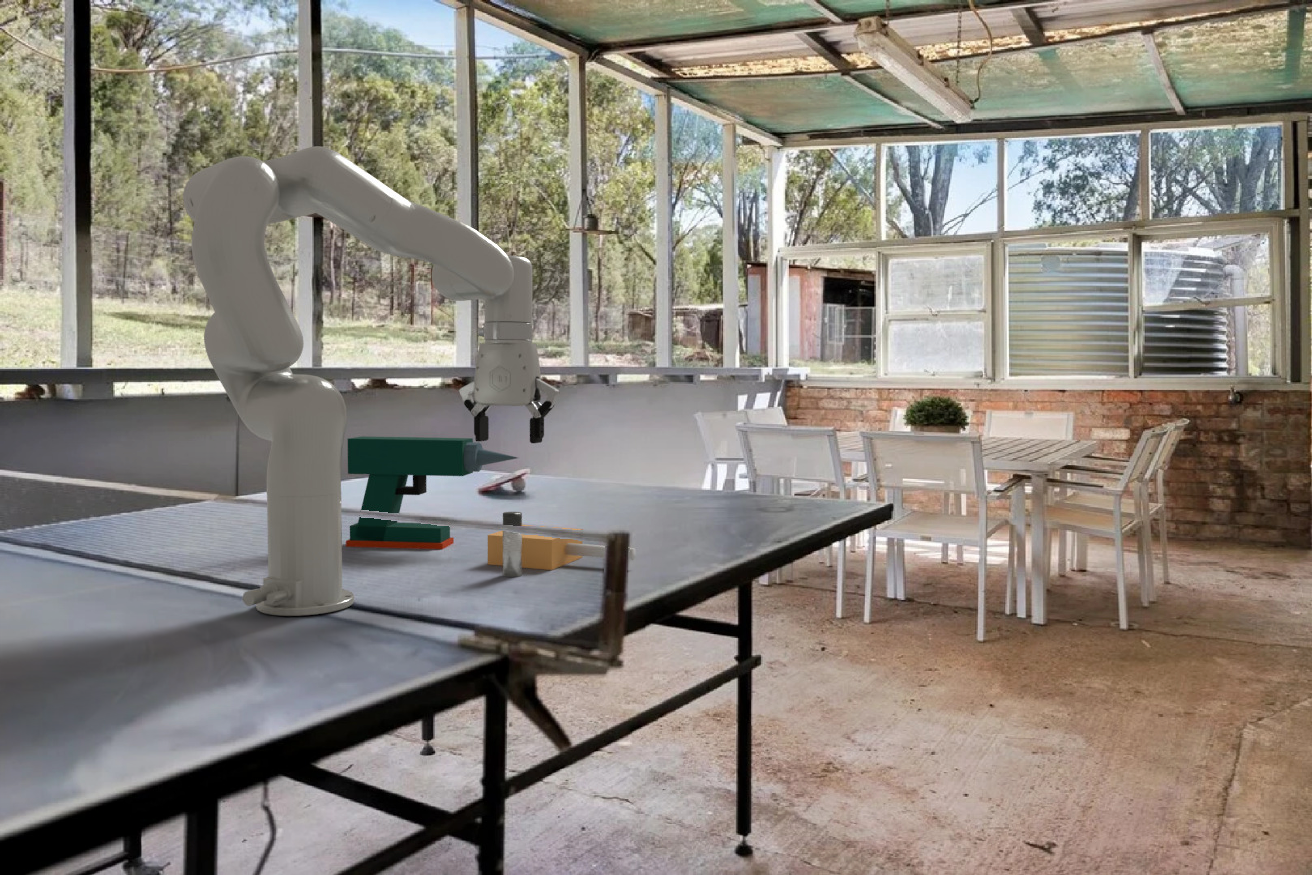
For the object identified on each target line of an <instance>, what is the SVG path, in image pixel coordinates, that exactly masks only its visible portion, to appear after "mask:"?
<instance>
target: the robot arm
mask: <svg viewBox="0 0 1312 875" xmlns="http://www.w3.org/2000/svg"><path fill="white" fill-rule="evenodd" d="M182 202H183V206H184V209H185V211H186V214H187V215H188V217H190V219H191V220H192V221H193V222H194V223H193V227H192V235H191V253H192V259H193V264H194V267H195V271H196V273H197V276H198V278H199V280H200V283H201V286H202V287H203V290H204V291H205V293H206V296H207V297H208V300H209V303H210V305H211V307H212V309H213V312H214V313H213V314H212V315H210V317H209V319H208V321H207V322H206V325H205V327H204V332H203V341H204V342H203V344H204V348H205V353H206V355H207V358H208V360H209V362H210V364H211V367H212V368H213V370H214V372H215V374H216V376H217V377H218V380H219V381H220V383H221V385H222V387H223V389H224V390H225V392H226V395H227V396H228V398H229V400H230V402H231V403H232V406H233V407H234V409H235V411H236V413H237V415H238V416H239V418H240V420H241V421H242V422H243V424H244V425H245V427H246V428H247V429H248V430H249V431H250V432H251V433H252V434H254V435H256V436H257V437H258V438H259V439H263V440H267V441H269V442H271V444H270V451H269V454H268V460H267V467H266V514H267V515H266V516H267V519H266V520H267V524H266V525H267V526H266V527H267V569H268V570H267V574H268V576H267V577H262V579H263V580H262V583H263V584H262V585H261V586H260V588H254V589H250V590H247V591H244V593H243V595H242V602H243V603H244V604H245V606H247V607H250V606H255V608H256V611H259V612H260V613H261V614H265V615H272V616H284V617H294V616H295V617H298V616H299V617H300V616H301V617H302V616H311V615H313V616H315V615H319V614H321V615H322V614H327V613H333V612H338V611H342V610H345V609H346V608H348V607H350V606H352V605H353V604H354V602H355V594H354V593H353V592H352V591H350V590H348V589H343V540H342V537H343V536H342V535H343V532H342V530H343V529H342V525H343V524H342V523H343V522H342V518H343V517H342V471H341V470H342V457H343V456H342V455H343V445H344V440H345V434H346V427H347V421H348V420H347V419H348V418H347V406H346V403H345V400H344V397H343V394H341V392H340V391H339V389H338V388H337V387H336V386H335V385H334V384H333V383H331V382H330V381H329V380H327V379H324V378H323V377H320V376H316V375H312V374H295V373H293V372H292V369H291V367H292V366H293V365H294V364H296V363H297V361H298V360H299V359H300V357H301V355H302V354H303V349H304V336H303V332H302V329H301V327H300V325H299V323H298V321H297V318H296V316H295V315H294V313H293V311H292V308H291V307H290V305H289V302H288V301H287V299H286V296H285V294H284V293H283V291H282V289H281V287H280V284H279V283H278V281H277V279H276V277H275V274H274V272H273V270H272V267H271V265H270V262H269V259H268V256H267V253H266V246H265V245H266V244H265V240H266V239H265V238H266V231H267V227H268V225H270V224H277V223H280V222H284V221H288V220H289V221H290V220H293V219H297V218H302V217H305V216H309V215H313V214H314V215H315V214H317V215H319V216H321V217H322V218H324V219H325V220H328V221H329V222H330V223H332V224H334V225H336V227H339V228H340V229H342V230H343V231H345V232H347V233H348V234H350V235H351V236H353V237H354V238H356V239H357V240H359V241H361V242H362V243H364V244H366V246H367V245H368V247H370V248H372V249H373V250H376V251H378V252H380V253H383V254H387V255H390V256H393V257H394V256H395V257H398V258H399V257H401V258H407V259H413V260H418V261H422V262H426V263H429V264H432V265H434V266H433V267H432V272H431V281H432V283H433V286H434V288H435V289H436V291H437V292H438V293H439V294H440V295H442V296H443V297H445V298H447V299H449V300H452V301H457V302H458V301H459V302H461V301H462V302H464V301H465V302H466V301H475V300H476V301H477V300H483V301H484V323H483V327H479V328H478V330H477V335H478V336H479V337H483V340H484V342H481V343H479V346H478V349H477V356H476V361H475V369H474V371H475V372H474V380H473V381H471V382H470V383H468V384H466V385H464V386H463V387H461V388H460V389H459V395H460V397H461V399H462V401H463V404H464V406H465V408H466V409H467V410H468V412H470V415H471V416H472V417H473V434H474V436H475V442H484V441H485V442H486V441H488V440H489V439H490V438H489V429H490V428H489V415H487V413H488V411H489V410H490V409H491V407H492V406H497V407H498V406H502V407H503V406H505V407H523V406H525V407H526V409H527V410H528V411H529V412H530V414H531V415H532V417H530V419H529V443H531V444H539V443H542V442H543V439H544V437H545V418H547V416H548V414H549V412H551V411H552V410H553V408H554V407H555V405H556V404H555V403H556V402H557V401H558V398H559V396H560V390H559V389H558V388H556V387H554V386H553V385H550V384H549V383H547V382H546V381H543V380H542V375H541V366H540V358H539V353H538V348H537V344H536V343H533V265H532V262H531V261H530V260H529V259H528V258H526V257H524V256H518V255H509V254H508V255H507V253H506V252H505V251H504V250H503V249H502V248H501V247H499V245H497V244H496V243H495V242H494V241H492V240H491V239H489V238H488V237H487V236H484V235H483V234H482V233H481V232H479V231H478V230H476V229H474V228H473V227H471V226H470V225H467V224H465V223H463V222H461V221H460V220H457V219H455V218H453V217H450V216H449V215H445V214H442V213H440V212H438V211H435V210H433V209H431V208H429V207H426V206H423V205H420V204H418V203H415V202H413V201H411V200H409V199H407V198H405V197H404V196H402V195H401V194H399V193H398V192H396V191H395V190H393V189H392V188H391V187H389V186H387V185H386V184H384V183H383V182H381V181H380V180H379V179H377V178H376V177H374V176H373V175H371V174H370V173H368V172H367V171H366V170H364V169H362V168H361V167H360V166H358V165H357V164H356V163H354V162H352V161H351V160H350V159H348V158H347V157H346V156H344V155H342V154H341V153H339V152H338V151H336V150H334V149H332V148H329V147H326V146H321V145H319V146H316V145H315V146H310V147H306V148H303V149H300V150H297V151H294V152H292V153H289V154H286V155H283V156H281V157H277V158H276V157H275V158H271V159H267V160H261V159H259V158H256V157H254V156H246V155H245V156H244V155H241V156H234V157H230V158H227V159H225V160H222V161H220V162H217V163H215V164H213V165H210V166H207V167H204V168H203V169H201V170H199V171H197V172H195V173H194V174H193V175H192V176H190V178H189V179H188V181H187V182H186V183H185V186H184V187H183V192H182ZM542 392H543V393H545V394H546V398H545V399H546V400H545V401H544V402H543V403H541V400H542Z"/></svg>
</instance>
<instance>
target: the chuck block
mask: <svg viewBox="0 0 1312 875" xmlns="http://www.w3.org/2000/svg"><path fill="white" fill-rule="evenodd" d="M522 526H532V525H530V524H529V525H527V524H522ZM539 526H540V527H546V526H543V525H539ZM552 527H553V528H560V526H559V527H557V526H556V527H555V526H552ZM561 528H562V529H572V530H583V528H571V527H561ZM605 546H606V545H597V544H585V543H583V541H578V540H573V539H560V538H552V537H544V536H538V535H523V534H522V569H523V568H525V569H536V570H545V571H547V570H549V571H553V570H555V569H557V568H558V569H559V568H560V567H563V566H565V565H567V564H570V563H572V562H574V561H577V560H579V559H582V558H583V557H589V558H600V559H601V558H603V559H605V558H604V556H605ZM629 548H630V552H629V560H628V561H634V560H635V558H636V548H633V547H629ZM487 565H489V566H490V565H491V566H502V567H503V530H500V531H497V532H493V533H489V534H487Z"/></svg>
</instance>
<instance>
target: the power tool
mask: <svg viewBox="0 0 1312 875" xmlns="http://www.w3.org/2000/svg"><path fill="white" fill-rule="evenodd" d="M482 445H483V444H482V443H481V442H478V441H475V442H474V437H473V438H472V437H471V438H468V437H426V436H424V437H423V436H421V437H420V436H419V437H416V436H414V437H413V436H407V437H406V436H365V435H363V436H357V437H351V438H350V437H349V438H347V474H349V475H368V477H367V478H368V479H367V482H366V486H365V492H364V495H363V500H362V504H361V508H360V511H361V510H369V511H379V512H388V513H399V514H400V512H401V508H402V503H403V498H404V496H407V495H408V496H420V495H423V494H425V493H427V490H428V488H427V476H430V477H431V476H432V477H433V476H434V477H435V476H436V477H440V476H441V477H442V476H443V477H464V476H467V475H470V474H473V473H474V472H477V473H478V472H480V471H481V470H482V468H483V466H485V465H486V466H487V465H492V464H496V463H501V462H506V461H511V460H515V459H519V457H517V456H513V455H509V454H504V453H500V452H496V451H491V450H488V449H484V448H483V446H482ZM409 476H412V486H410V485H407V482H408V478H409ZM421 523H422V522H398V521H391V520H381V519H374V518H361V517H359V516H358V520H357V523H354V524H352V525H349V539H347V540H345V547H349V548H378V549H379V548H381V549H382V548H383V549H385V548H388V549H416V550H418V549H419V550H420V549H421V550H423V549H424V550H444V549H446V548H448V547H450V546H451V545H453V544H454V539H455V538H454V537H451V526H450V527H449V526H437V525H431V524H421Z"/></svg>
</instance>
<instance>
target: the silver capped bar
mask: <svg viewBox="0 0 1312 875" xmlns="http://www.w3.org/2000/svg"><path fill="white" fill-rule="evenodd" d="M503 525H513V526H522V525H523V512H521V511H505V512H503V513H502V526H503ZM502 531H503V530H502ZM522 575H523V567H522V534H520V533H513V532H506V531H503V566H502V576H503V577H504V578H517V577H518V578H519V577H521V576H522Z"/></svg>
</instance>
